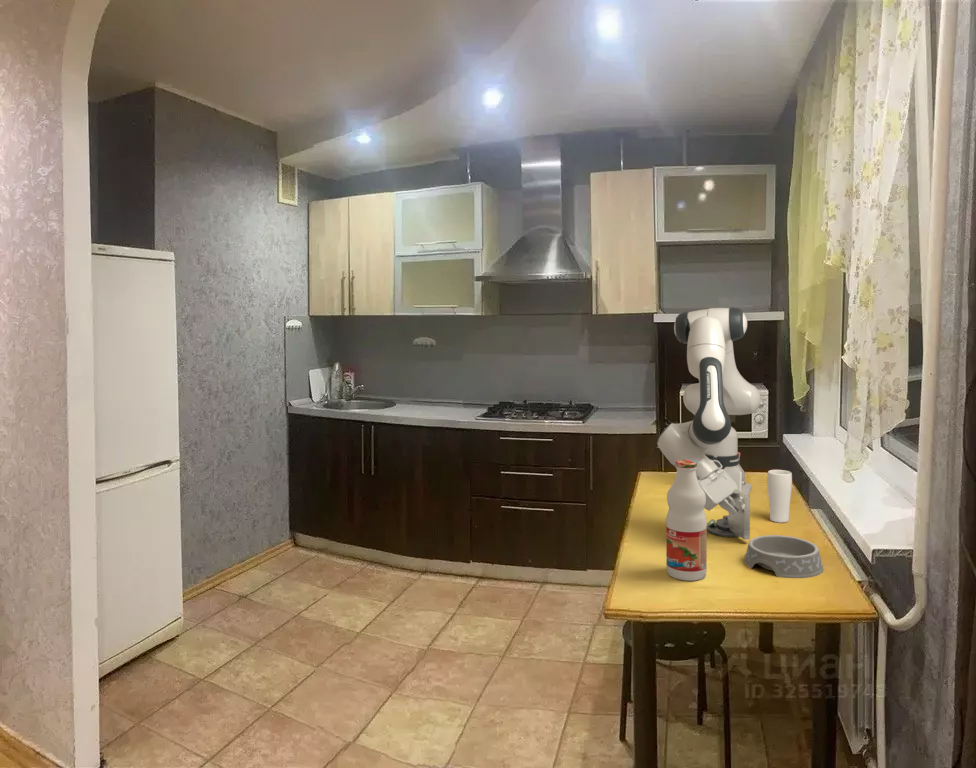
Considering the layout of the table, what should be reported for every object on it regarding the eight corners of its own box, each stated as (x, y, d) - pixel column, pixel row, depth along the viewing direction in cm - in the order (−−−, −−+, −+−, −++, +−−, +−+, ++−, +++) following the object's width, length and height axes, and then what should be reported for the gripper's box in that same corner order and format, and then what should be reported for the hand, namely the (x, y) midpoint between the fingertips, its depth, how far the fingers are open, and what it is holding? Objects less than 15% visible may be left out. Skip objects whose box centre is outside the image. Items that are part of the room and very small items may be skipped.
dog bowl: (799, 585, 157) (800, 562, 156) (730, 563, 171) (730, 543, 171) (836, 567, 167) (837, 546, 166) (768, 548, 181) (768, 529, 181)
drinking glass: (795, 523, 201) (796, 474, 199) (772, 524, 201) (773, 475, 199) (785, 517, 207) (785, 469, 206) (763, 517, 207) (763, 469, 206)
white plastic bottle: (715, 577, 162) (715, 462, 159) (683, 584, 158) (683, 467, 155) (688, 564, 170) (688, 456, 168) (658, 571, 167) (657, 460, 164)
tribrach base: (714, 523, 203) (714, 515, 203) (752, 529, 197) (752, 521, 197) (701, 533, 195) (701, 525, 194) (740, 539, 188) (740, 531, 188)
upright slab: (712, 524, 198) (712, 484, 197) (731, 523, 199) (732, 483, 198) (736, 540, 184) (736, 497, 183) (757, 538, 185) (757, 495, 183)
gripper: (696, 474, 180) (732, 515, 175) (720, 460, 196) (755, 498, 191) (679, 488, 183) (715, 529, 178) (705, 473, 200) (738, 511, 195)
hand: (736, 513), depth 185 cm, fingers closed
